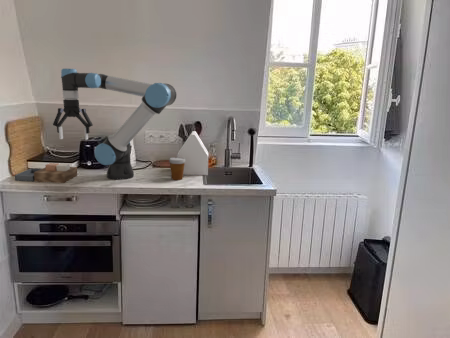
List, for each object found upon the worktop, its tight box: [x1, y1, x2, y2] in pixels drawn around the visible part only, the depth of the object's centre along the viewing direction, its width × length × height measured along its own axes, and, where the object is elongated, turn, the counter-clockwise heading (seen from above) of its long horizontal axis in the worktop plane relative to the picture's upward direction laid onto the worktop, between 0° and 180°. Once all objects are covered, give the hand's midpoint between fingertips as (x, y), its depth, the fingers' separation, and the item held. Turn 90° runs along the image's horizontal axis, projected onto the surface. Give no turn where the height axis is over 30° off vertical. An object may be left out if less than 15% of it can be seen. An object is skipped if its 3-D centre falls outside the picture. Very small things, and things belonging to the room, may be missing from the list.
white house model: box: [176, 130, 209, 176], centre depth 221 cm, size 19×15×25 cm
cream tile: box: [56, 163, 71, 171], centre depth 193 cm, size 5×5×3 cm
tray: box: [14, 167, 42, 182], centre depth 195 cm, size 10×16×3 cm, turn 179°
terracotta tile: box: [45, 162, 60, 171], centre depth 193 cm, size 5×5×3 cm
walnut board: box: [34, 166, 78, 184], centre depth 194 cm, size 16×16×5 cm
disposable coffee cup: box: [168, 156, 186, 181], centre depth 204 cm, size 10×10×12 cm
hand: (74, 139), depth 189 cm, fingers open, 13 cm apart
